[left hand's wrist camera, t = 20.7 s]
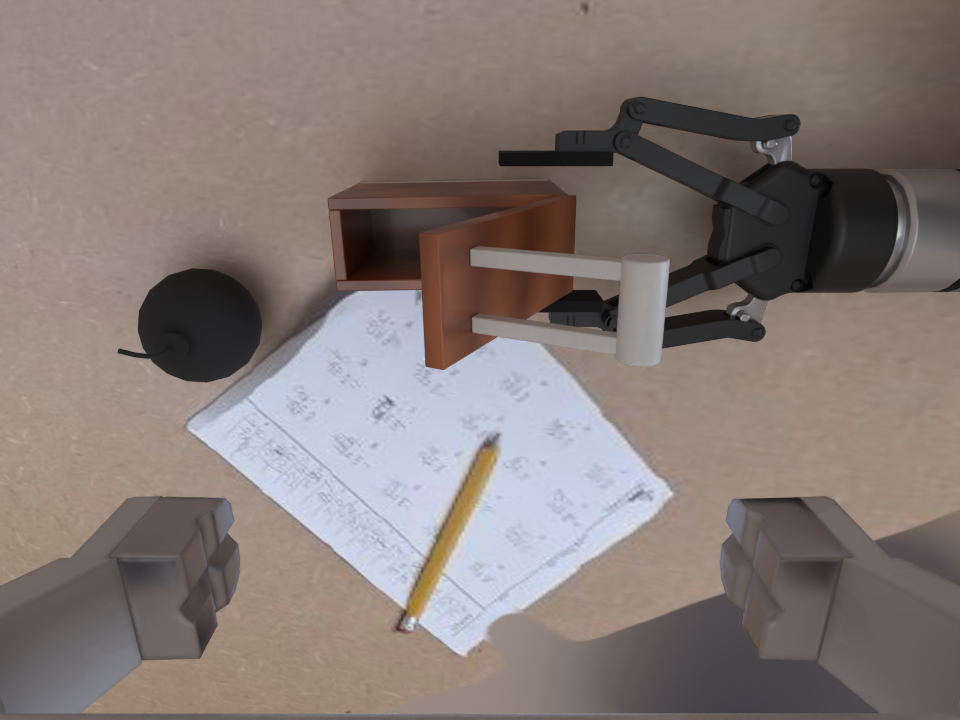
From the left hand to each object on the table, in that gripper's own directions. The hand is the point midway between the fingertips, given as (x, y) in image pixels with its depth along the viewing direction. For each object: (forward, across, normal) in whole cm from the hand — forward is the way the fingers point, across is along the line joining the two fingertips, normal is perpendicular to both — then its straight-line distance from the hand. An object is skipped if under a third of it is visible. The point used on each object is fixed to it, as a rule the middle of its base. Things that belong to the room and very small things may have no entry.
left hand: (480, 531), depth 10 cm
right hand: (+31, -1, 0) cm, 31 cm away
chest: (+38, +2, 0) cm, 38 cm away
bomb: (+37, +19, +7) cm, 43 cm away
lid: (+21, -1, 0) cm, 21 cm away
